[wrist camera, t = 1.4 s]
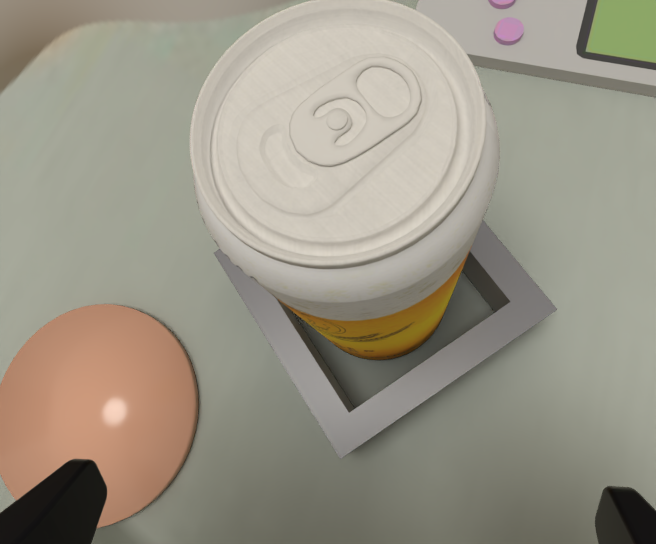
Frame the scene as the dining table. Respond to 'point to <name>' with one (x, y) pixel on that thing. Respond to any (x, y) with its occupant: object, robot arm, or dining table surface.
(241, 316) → the dining table surface
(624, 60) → the handheld gaming console
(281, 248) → the beer can
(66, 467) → the robot arm
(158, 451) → the peach dome cap
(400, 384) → the ring
